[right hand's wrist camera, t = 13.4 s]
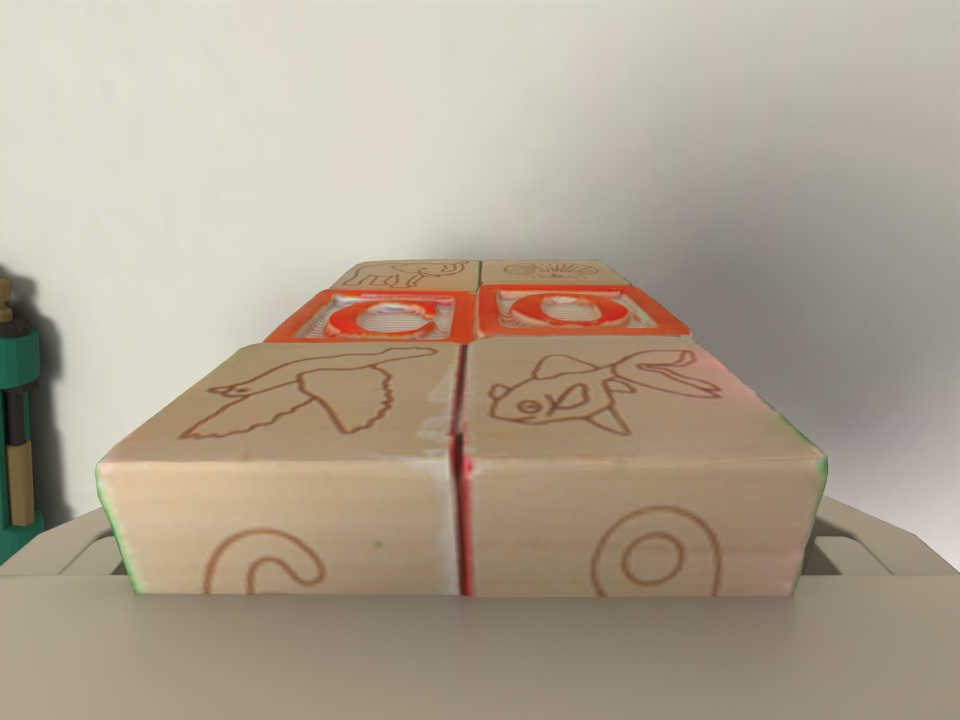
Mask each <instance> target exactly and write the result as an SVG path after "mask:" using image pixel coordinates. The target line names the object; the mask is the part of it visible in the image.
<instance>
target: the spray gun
mask: <svg viewBox="0 0 960 720" xmlns="http://www.w3.org/2000/svg"><path fill="white" fill-rule="evenodd" d="M9 300H11V290H10V281H9V280H7V279H5V278H2V277H0V566H1V565H2V564H3V563H5V562H6V561H7V560H8V559H9V558H11V557H12V556H13V555H14V554H15V553H17V552H18V551H19V550H20V549H21V548H23V547H24V546H25V545H26V544H27V543H29V542H30V541H31V540H32V539H33V538H35V537H36V536H37V535H38V534H40V533H43V532H44V517H43V514H42V512H41V511H40V510H39V509H37V508H34V496H33V473H32V450H31V441H30V422H29V401H28V391H29V390H31V389H33V388H35V387H37V386H38V377H39V376H40V348H39V333H38V331H37V330H36V329H34V328H31V323H30V322H29V321H28V320H27V319H26V318H22V317H18V316H14V315H12V309H10V308H9V307H7V306H5V302H6V301H9Z"/></svg>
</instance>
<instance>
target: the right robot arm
mask: <svg viewBox="0 0 960 720" xmlns="http://www.w3.org/2000/svg"><path fill="white" fill-rule="evenodd" d="M0 720H960V573H959V572H958V571H957V570H956V569H955V568H954V567H952V566H951V565H950V564H949V563H948V562H947V561H945V560H944V559H943V558H942V557H941V556H939V555H938V554H937V553H936V552H935V551H934V550H932V549H931V548H930V547H929V546H928V545H927V544H925V543H924V542H923V541H922V540H921V539H919V538H918V537H917V536H916V535H914V534H912V533H910V532H907V531H905V530H903V529H900V528H898V527H896V526H893V525H891V524H889V523H887V522H884V521H882V520H880V519H877V518H875V517H873V516H870V515H868V514H866V513H864V512H861V511H859V510H857V509H854V508H852V507H850V506H848V505H845V504H843V503H841V502H838V501H836V500H834V499H831V498H829V497H827V496H825V495H822V498H821V501H820V504H819V507H818V511H817V514H816V517H815V521H814V524H813V528H812V531H811V534H810V537H809V539H808V542H807V544H806V546H805V551H804V558H803V565H802V572H801V577H800V579H799V582H798V584H797V587H796V590H795V592H794V595H793V596H682V597H507V598H477V597H471V596H464V595H362V594H135V593H134V591H133V588H132V585H131V582H130V580H129V577H128V574H127V571H126V568H125V565H124V563H123V560H122V557H121V554H120V551H119V548H118V545H117V542H116V540H115V537H114V534H113V531H112V528H111V525H110V522H109V520H108V518H107V515H106V513H105V511H104V509H103V507H101V508H99V509H96V510H94V511H92V512H89V513H87V514H85V515H82V516H80V517H78V518H75V519H73V520H71V521H68V522H66V523H64V524H61V525H59V526H57V527H54V528H52V529H50V530H47V531H45V532H43V533H40V534H38V535H37V536H36V537H35V538H33V539H32V540H31V541H30V542H29V543H27V544H26V545H25V546H24V547H23V548H21V549H20V550H19V551H18V552H17V553H15V554H14V555H13V556H12V557H11V558H9V559H8V560H7V561H6V562H5V563H3V564H2V565H1V566H0Z"/></svg>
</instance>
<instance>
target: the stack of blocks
mask: <svg viewBox="0 0 960 720" xmlns="http://www.w3.org/2000/svg"><path fill="white" fill-rule="evenodd" d="M827 473H828V460H827V455H826V454H825V453H824V452H823V451H821V450H820V449H819V448H818V447H817V446H816V445H814V444H813V443H812V442H811V441H810V440H809V439H808V438H806V437H805V436H804V435H803V434H802V433H801V432H800V431H798V430H797V429H796V428H795V427H794V426H793V425H792V424H791V423H789V422H788V421H787V420H786V419H785V418H784V417H783V416H782V415H781V414H779V413H778V412H777V411H776V410H775V409H774V408H773V407H772V406H771V405H769V404H768V403H767V402H766V401H765V400H764V399H762V398H761V397H760V396H759V395H758V394H757V393H755V392H754V391H753V390H752V389H751V388H749V387H748V386H747V385H746V384H745V383H743V382H742V381H741V380H740V379H739V378H737V377H736V376H735V375H734V374H733V373H731V372H730V371H729V370H728V369H727V368H726V367H725V366H724V365H723V364H722V363H721V362H720V361H719V360H717V359H716V358H715V357H714V356H713V355H711V354H710V353H709V352H708V351H706V350H705V349H703V348H701V347H700V346H699V344H698V343H697V342H695V341H694V340H693V332H692V331H691V330H690V329H689V328H688V327H687V326H686V325H685V324H683V323H682V322H681V321H680V320H678V319H677V318H676V317H675V316H674V315H672V314H671V313H670V312H669V311H667V310H666V309H665V308H664V307H662V306H661V305H660V304H659V303H657V302H656V301H655V300H653V299H652V298H651V297H649V296H648V295H647V294H645V293H644V292H643V291H642V290H640V289H638V288H636V287H634V286H632V284H631V283H630V282H628V281H627V280H626V279H624V278H623V277H621V276H620V275H619V274H618V273H616V272H615V271H614V270H612V269H611V268H609V267H608V266H607V265H605V264H604V263H603V262H601V261H598V260H548V261H476V260H387V261H371V262H363V263H360V264H357V265H355V266H354V267H353V268H351V269H350V270H349V271H348V272H346V273H345V274H344V275H343V276H342V277H341V278H340V279H339V280H338V281H337V282H336V283H334V284H333V285H332V286H331V287H330V288H329V289H326V290H324V291H321V292H319V293H318V294H317V295H315V296H314V298H312V299H311V300H310V301H309V302H307V303H306V304H305V305H304V306H302V307H301V308H300V309H299V310H298V311H297V312H295V313H294V314H293V315H292V316H290V317H289V318H288V319H287V320H285V321H284V322H283V323H282V324H281V325H280V326H279V327H278V328H277V329H275V330H274V331H273V332H272V333H271V334H270V335H269V336H268V337H267V338H266V339H265V340H264V341H263V343H259V344H253V345H250V346H247V347H244V348H241V349H239V350H238V351H237V352H236V353H235V354H233V355H232V356H231V357H230V358H229V359H227V360H226V361H225V362H223V363H222V364H221V365H219V366H218V367H217V368H216V369H214V370H213V371H212V372H211V373H209V374H208V375H207V376H205V377H204V378H203V379H201V380H200V381H199V382H197V383H196V384H195V385H193V386H192V387H191V388H189V389H188V390H187V391H185V392H184V393H183V394H181V395H180V396H179V397H178V398H176V399H175V400H174V401H172V402H171V403H170V404H169V405H167V406H166V407H165V408H163V409H162V410H161V411H159V412H158V413H157V414H156V415H154V416H153V417H152V418H150V419H149V420H148V421H146V422H145V423H144V424H142V425H141V426H140V427H138V428H137V429H136V430H135V431H133V432H132V433H131V434H129V435H128V436H127V437H125V438H124V439H123V440H121V441H120V442H119V443H117V444H116V445H115V446H114V447H113V448H112V449H111V450H110V451H109V452H108V453H107V454H106V455H105V456H104V457H103V458H102V459H101V460H100V462H99V463H98V464H97V465H96V469H95V477H96V485H97V493H98V498H99V500H100V502H101V504H102V507H103V509H104V511H105V513H106V515H107V518H108V520H109V522H110V525H111V528H112V531H113V534H114V537H115V540H116V542H117V545H118V548H119V551H120V554H121V557H122V560H123V563H124V565H125V568H126V571H127V574H128V577H129V580H130V582H131V585H132V588H133V591H134V593H135V594H362V595H464V596H471V597H477V598H507V597H682V596H793V595H794V592H795V590H796V587H797V584H798V582H799V579H800V577H801V572H802V565H803V558H804V551H805V546H806V544H807V542H808V539H809V537H810V534H811V531H812V528H813V524H814V521H815V517H816V514H817V511H818V507H819V504H820V501H821V498H822V495H823V492H824V488H825V485H826V481H827Z"/></svg>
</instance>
